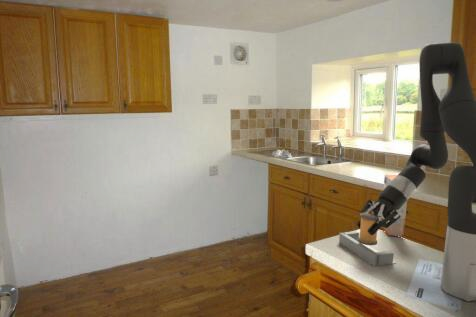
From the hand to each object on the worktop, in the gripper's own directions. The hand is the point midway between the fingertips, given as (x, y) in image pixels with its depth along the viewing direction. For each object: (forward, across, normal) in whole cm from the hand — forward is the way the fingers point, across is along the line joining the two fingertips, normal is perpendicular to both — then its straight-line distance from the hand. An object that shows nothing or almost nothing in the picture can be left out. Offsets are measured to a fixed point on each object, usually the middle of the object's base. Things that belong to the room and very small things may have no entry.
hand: (364, 230), depth 111 cm
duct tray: (+5, 0, +6) cm, 8 cm away
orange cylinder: (+2, 0, +4) cm, 5 cm away
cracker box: (-11, -15, +23) cm, 29 cm away
